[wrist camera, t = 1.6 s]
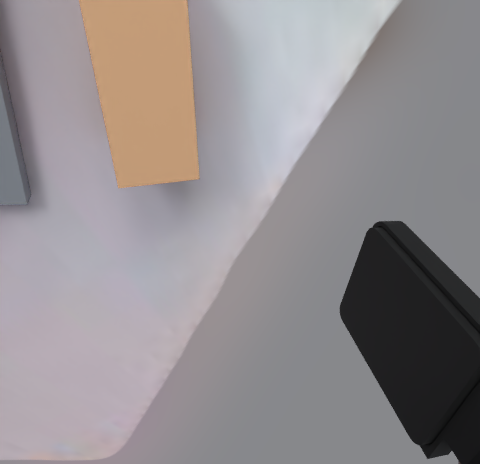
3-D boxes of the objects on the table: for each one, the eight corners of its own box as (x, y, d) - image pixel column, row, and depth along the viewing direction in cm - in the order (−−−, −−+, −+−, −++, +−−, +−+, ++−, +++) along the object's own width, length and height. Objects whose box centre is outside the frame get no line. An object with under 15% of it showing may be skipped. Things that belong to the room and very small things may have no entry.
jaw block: (81, -56, 22) (67, -55, 17) (169, -55, 23) (183, -55, 18) (119, 142, 30) (118, 188, 24) (186, 136, 30) (199, 179, 25)
